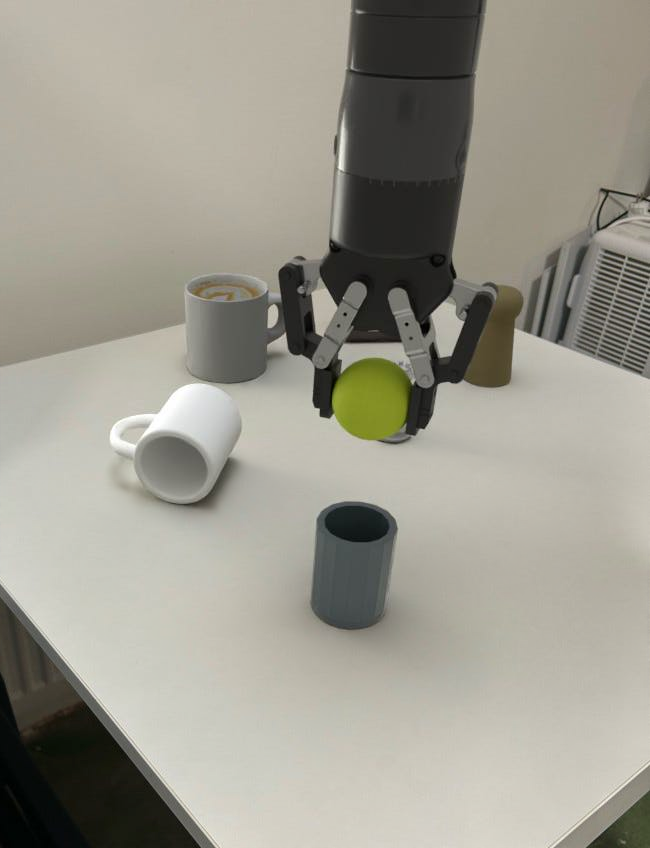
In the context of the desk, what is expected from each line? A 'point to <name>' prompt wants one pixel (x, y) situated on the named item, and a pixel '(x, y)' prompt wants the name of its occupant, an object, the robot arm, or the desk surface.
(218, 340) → the coffee mug
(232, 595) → the desk surface
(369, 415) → the ball
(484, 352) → the brown game pawn
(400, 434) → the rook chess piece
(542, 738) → the desk surface
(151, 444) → the mug
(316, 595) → the cup
